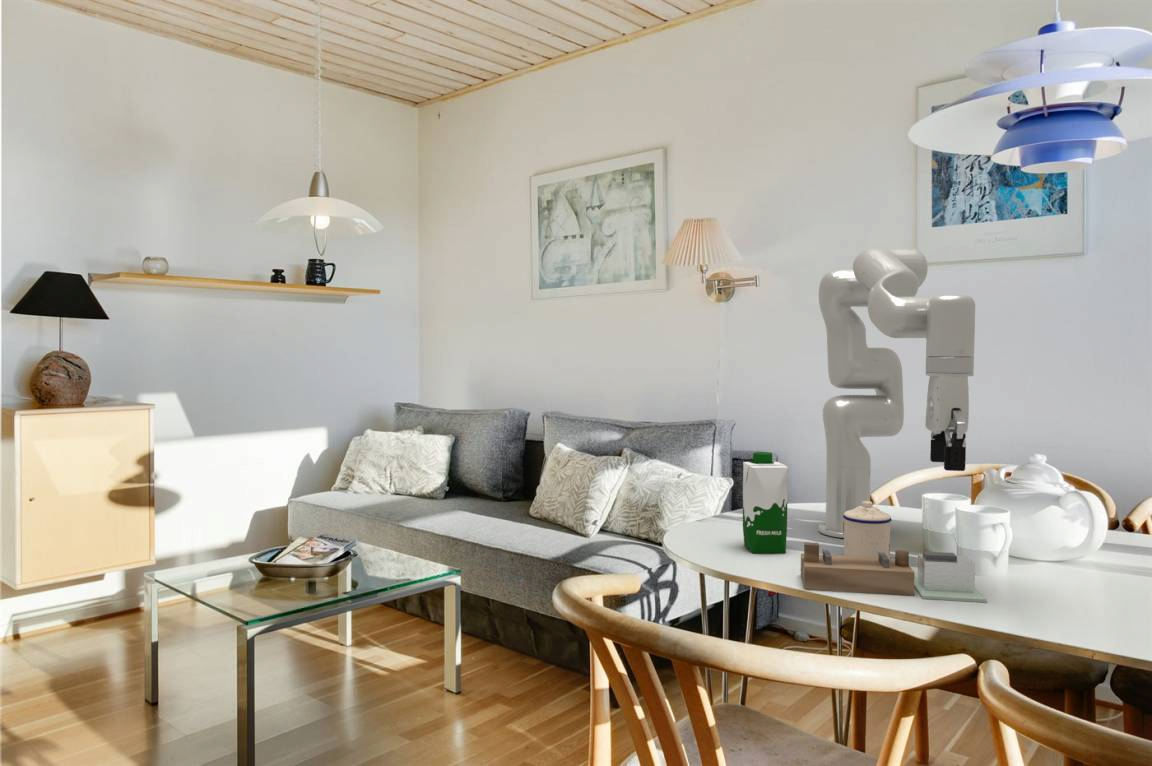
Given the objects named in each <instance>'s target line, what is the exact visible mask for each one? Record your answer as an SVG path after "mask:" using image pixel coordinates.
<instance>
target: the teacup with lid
mask: <svg viewBox="0 0 1152 766" xmlns="http://www.w3.org/2000/svg"><path fill="white" fill-rule="evenodd" d="M873 504H874V503H873V502H872V501H871V500H870V501H863V502H862V506H858V507H856V508H855V509H853V510H848V511H846V512H845V513H844V515H843V518H844V520H843V522H842V532H843V535H844V538H843V556H856V557H876V558H878V552H884V553H885V554H886V555H887V557H888V558H891V557H890V556H891V554H890V552H891V551H890V550H891V548H890V547H891V522H892V519H893V518H892V516H891V515H890V514H889V513H887V512H884V511H882V510H880V509H879V508H878V507H875V506H873Z"/></svg>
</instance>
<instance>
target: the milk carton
mask: <svg viewBox="0 0 1152 766" xmlns="http://www.w3.org/2000/svg"><path fill="white" fill-rule="evenodd" d="M742 465H743V467H742V469H743V470H742V472H743V473H742V474H743V475H742V476H743V478H742V532H743V533H742V534H743V545H744V547H746V548H747V549H748V551H749V552H751V553H752V554H786V553H787V536H788V535H787V534H788V484H789V483H788V480H789V478H788V477H789V467H788V466H787V465H786V464H784V463H781V462H779V461H773V452H767V451H765V452H764V451H758V452H756V451H755V452H753V453H752V461H743V462H742Z"/></svg>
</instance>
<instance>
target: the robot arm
mask: <svg viewBox="0 0 1152 766" xmlns="http://www.w3.org/2000/svg"><path fill="white" fill-rule="evenodd" d="M928 266H929V264H928V261H927V259H926V256H925V255H924V253H923V252H922V251H920V250H918V249H917V248H915V247H884V246H883V247H881V246H880V247H871V248H866V249H865V250H863V251H861V252H860V253H858V254H857V256H856V257H855V258H854V261H853V263H852V268H839V269H834V270H833V269H832V270H830V271H828V272H826V273H825V274H824V275H823V277H822V278H821V279H820V283H819V286H818V304H819V309H820V312H821V315H822V318H823V321H824V325H825V329H826V347H827V349H826V351H827V353H826V354H827V372H828V379H829V382H830V384H831V385H832V386H833V387H835V388H838V389H844V390H845V389H846V390H847V389H848V390H874V391H875V393H876V394H866V395H865V394H842V395H840V394H839V395H835V396H833V397H831V398H828V399H827V401H826V402H824V404H823V407H822V422H823V426H824V433H825V443H826V444H825V447H826V448H825V449H826V482H825V483H826V484H825V485H826V489H825V490H826V491H825V492H826V493H825V494H826V497H825V498H826V499H825V503H826V504H825V522H823V523H821V524H819V526H818V531H819V533H821V534H823V535H825V536H829V537H834V538H840V539H844V535H843V532H842V522H843V520H844V518H843V515H844V513H845V512H846V511H848V510H853V509H855V508H856V507H858V506H862V502H863V501H870V502H871V469H872V468H871V461H872V460H871V456H870V455H871V454H870V452H869V451H868V449H867V447H866V446H865V444H864V443H862V441H861V438H871V437H872V438H874V437H875V438H877V437H878V438H879V437H880V438H881V437H883V438H884V437H886V438H887V437H893V436H896V435H898V434H899V433H900V432H901V430H902V429H903V425H904V420H905V419H904V418H905V410H904V409H905V408H904V383H903V381H904V380H903V366H902V362H901V359H900V358H899V355H898V354H897V353H896V352H895V351H894V350H892V349H890V348H887V347H869V346H868V345H867V329H866V325H865V323H864V321H863V320H862V318H861V317H860V316H859V315H858V314H857V312H856V311H854V310H853V307H854V308H855V307H857V308H860V307H861V308H867V312H868V317H869V319H870V322H871V323H872V324H873V325H874V326H875V327H876V328H877V330H878V331H879V332H880V333H882V334H883V335H884V336H887V337H889V338H893V339H926V342H925V344H926V345H925V376H926V377H929V378H928V387H927V395H926V398H927V399H926V410H925V424H924V425H925V428H926V429H928V431H930V432H931V433H930V438H931V439H930V454H929V455H930V458H929V460H930V462H932V463H943V469H944V470H945V471H953V472H964V471H965V470H966V460H967V459H966V458H967V457H966V455H967V453H966V451H967V450H966V449H967V442H966V438H967V436H966V435H967V434H966V433H967V432H968V431H969V417H970V415H969V411H970V408H969V406H970V401H969V399H970V398H969V397H970V395H969V389H970V388H969V377H974V376H975V375H974V371H975V340H976V339H975V333H976V329H975V328H976V301H975V299H974V298H973V297H971V296H969V295H962V294H948V295H947V294H946V295H935V296H917V293H918V291H919V290H918V289H919V288H920V287H921V286H922V285H923V284H924V282H925V280H926V278H927V276H928V270H929V269H928ZM851 307H852V308H851Z"/></svg>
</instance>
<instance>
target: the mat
mask: <svg viewBox="0 0 1152 766" xmlns="http://www.w3.org/2000/svg"><path fill="white" fill-rule="evenodd" d="M914 590H915V591H916V592H917V593H918V595H919V596H920V598H921V599H923V600H924V599H925V600H938V601H956V602H970V603H971V602H972V603H974V602H975V603H988V599H987V598H986V597H985V595H983V594H982V593H981V592H980V591H979V590H978V589H977V588H976V587H975V586H974V593H969V592H950V591H932V590H924V589H923V588H922V587H921V586H920V584H919V583H918V576H917V575H916V576H914Z"/></svg>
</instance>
